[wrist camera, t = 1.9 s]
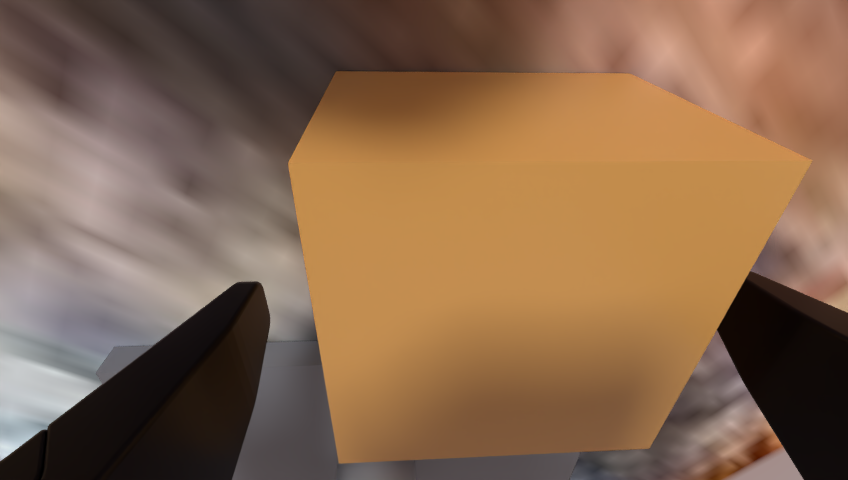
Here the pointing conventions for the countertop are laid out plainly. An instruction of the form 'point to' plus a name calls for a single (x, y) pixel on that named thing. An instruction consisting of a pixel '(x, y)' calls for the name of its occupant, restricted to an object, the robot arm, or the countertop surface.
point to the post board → (314, 438)
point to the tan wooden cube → (521, 255)
